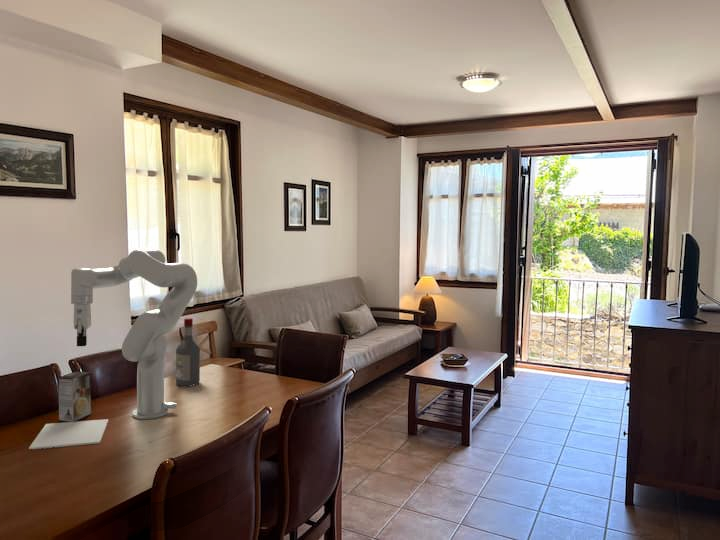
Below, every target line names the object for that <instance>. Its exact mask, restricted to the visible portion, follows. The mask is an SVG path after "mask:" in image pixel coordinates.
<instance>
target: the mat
mask: <svg viewBox="0 0 720 540" xmlns="http://www.w3.org/2000/svg"><path fill="white" fill-rule="evenodd" d="M107 423H109V418H106V419H105V418H103V419H92V420H80V421H79V420H77V421H74V422H71V421H64V422H54V423H53V422H51V423H45V425H44V426H43V428H42V429H41V430H40V432H39V433H38V434H37V435H36V437H35V438H34V440H33V441H32V443H31V444H30V445H29V447H28V450H29V451H31V449H32V450H39V449H40V450H41V449H42V448H43V449H51V448H53V447H54V448H63V447H64V448H65V447H74V446H76V447H77V446H87V445H96V444H101V442H102V439H103V435H104V433H105V431H106V429H107V425H108V424H107Z"/></svg>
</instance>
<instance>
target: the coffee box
mask: <svg viewBox="0 0 720 540" xmlns="http://www.w3.org/2000/svg"><path fill="white" fill-rule="evenodd" d="M91 376H92V375H91V372H89V371H88V372H87V371H77V370H76V371H74V372H71V373H67V374H65V375H62V376H58V420H59V421H63V422H77V421H79V420H81V419H83V418H85V417H87V416H89V415H92V387H91V386H92V384H91V381H92V379H91Z"/></svg>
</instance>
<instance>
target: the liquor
mask: <svg viewBox="0 0 720 540" xmlns="http://www.w3.org/2000/svg"><path fill="white" fill-rule="evenodd" d="M183 323H184V325H183V326H184V329H183V330H184V331H183V332H184V336H183V340H182V341H181V342H180V343H179V345H178V346H177V347H176V350H175V384H176V385H177V384H178V385H177V386H180V385H182V386H181V387H184V386H186V387H191V386H190V385H193V384H197V383H198V384H199V383H200V381H201V380H200V378H201V377H200V375H201V366H200V365H201V349H200V345H199V344H197V342H196V341H195V340H194V338H193V324H194V323H193V318H184V319H183ZM198 384H197V385H198ZM193 386H194V385H193Z"/></svg>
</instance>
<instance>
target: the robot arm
mask: <svg viewBox="0 0 720 540" xmlns="http://www.w3.org/2000/svg"><path fill="white" fill-rule="evenodd" d="M70 276H71V277H70V281H71V283H70V285H71V286H70V303H71V305H73V329H74V330H76V347H86V346H87V344H88V343H87V342H88V341H87V340H88V339H87V336H88V335H87V330H88V329H89V328H90V327H91V326H92V308H91V307H92V306H91V305H92V304H93V303H94V302H93V301H94V300H93V299H94V296H93V295H94V293H93V292H94V290H93V289H102V288H109V287H110V288H111V287H115V286H118V285H119V286H120V285H121V284H126V283H128V282H131V281H132V280H133V279H137V278H140V277H141V278H142V279H144V280H145V281H147V282H149V283H150V284H152V285H154V286H156V287H159V288H170V287H172V288H171V290H169V291H168V293H166V295H165V296H164V298H163V299H162V302H161V303H160V304H159V306H158V307H157V308H156V309H151V310H147V311H145V312H142V313H141V314H140V315H139V316H138V317H137V318H136V319H135V321H134V322H133V324H132V326H131V327H130V329H129V331H128V332H127V335H126V336H125V338H124V340H123V342H122V345H121V353H122V356H123V357H124V359H126V360H127V361H130V362H138V363H137V369H136V371H137V372H136V409H134V410H133V411H132V417H133V418H135V419H139V420H151V419H158V418H162V417H164V416H166V415H167V414H169V409H177V403H176V402H171V401H170V402H167V401H166V399H165V359H166V355H167V347H168V341H167V338H166V336H165V335H166V334H168V333H171V332H172V331H173V330H174V329H175V328H176V326H177V324H178V323H179V322H178V321H179V320H180V319H181V317H182V315H183V314H184V313H185V310H186V308H187V307H188V305H189V304H190V302H191V301H192V299H193V297H194V296H195V293H196V291H197V289H198V277H197V273H196V271H195V269H194V268H193V267H192V266H190V265H189V264H188V263H185V262H172V263H166V256H165V255H164V253H163V252H162V251H161V250H159V249H156V248H138V249H135V250H133V251H131V252H130V253H128V255H127V256H126V257H123V258H121V259H120V261H119V263H118V265H115V266H111V267H102V268H101V267H100V268H89V267H76V268H73V269H72V270H71V273H70Z"/></svg>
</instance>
